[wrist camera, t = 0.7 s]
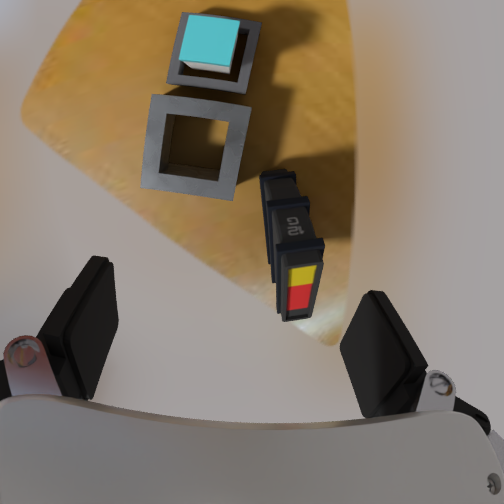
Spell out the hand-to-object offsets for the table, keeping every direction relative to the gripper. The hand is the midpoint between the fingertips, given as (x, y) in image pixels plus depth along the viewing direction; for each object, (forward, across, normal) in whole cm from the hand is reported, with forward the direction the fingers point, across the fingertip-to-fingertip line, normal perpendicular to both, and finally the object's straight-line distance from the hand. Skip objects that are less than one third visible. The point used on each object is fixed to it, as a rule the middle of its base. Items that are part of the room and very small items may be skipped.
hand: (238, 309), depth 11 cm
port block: (+26, +4, -2) cm, 26 cm away
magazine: (+26, -7, +7) cm, 27 cm away
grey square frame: (+26, +4, -12) cm, 28 cm away
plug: (+26, +4, -12) cm, 28 cm away
